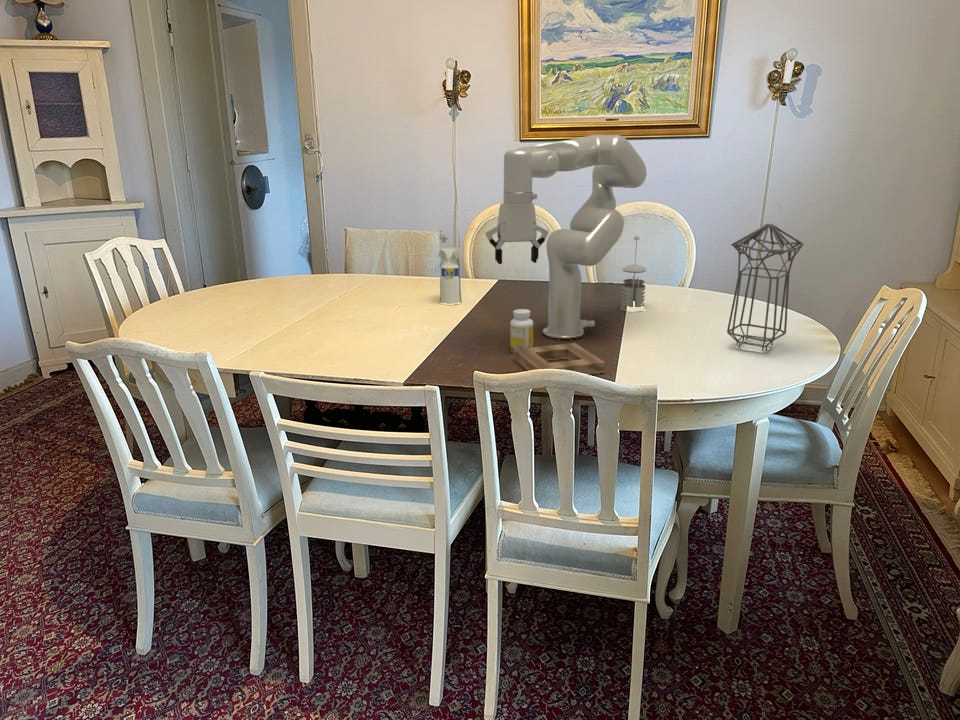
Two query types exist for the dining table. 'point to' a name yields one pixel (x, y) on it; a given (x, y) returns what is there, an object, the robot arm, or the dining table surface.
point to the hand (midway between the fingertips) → (516, 262)
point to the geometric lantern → (781, 251)
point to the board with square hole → (577, 354)
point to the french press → (633, 285)
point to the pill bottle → (521, 330)
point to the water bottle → (450, 274)
